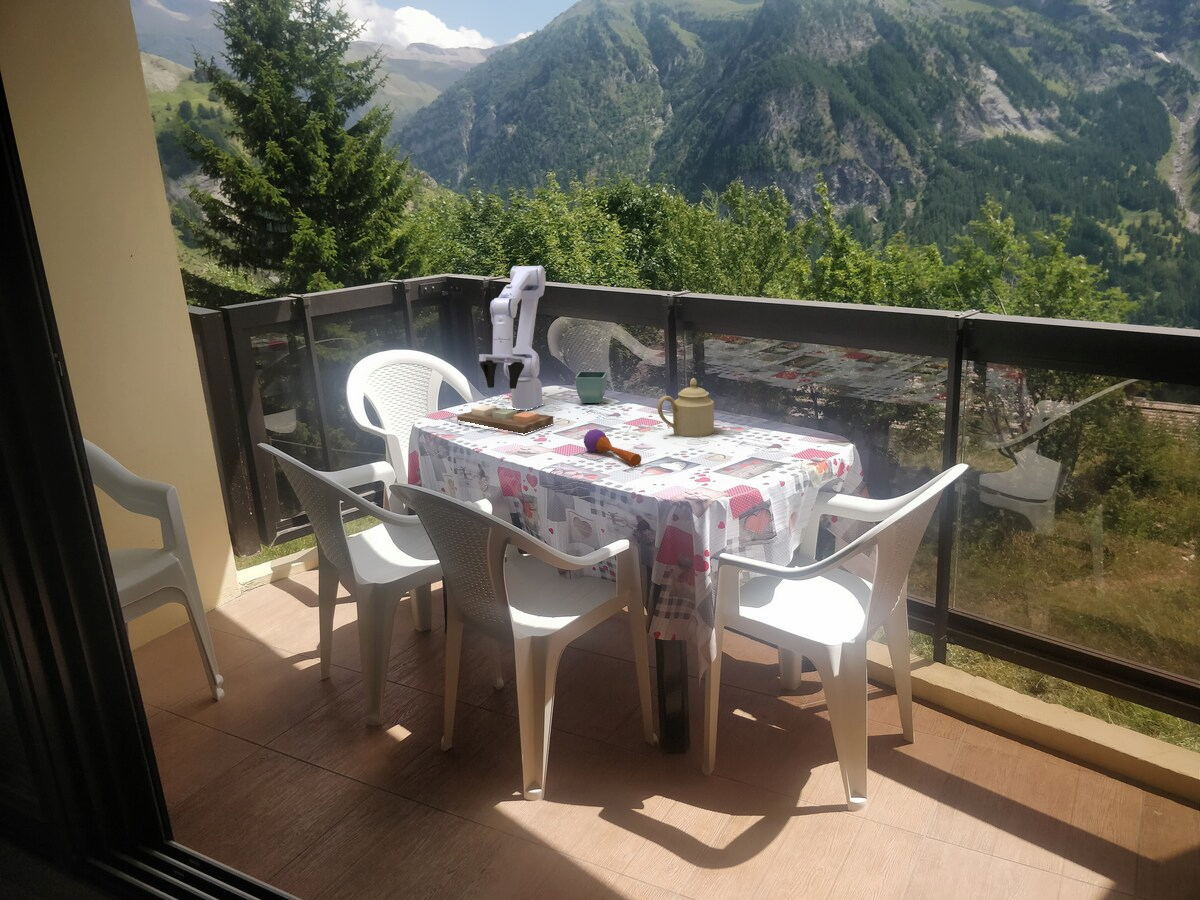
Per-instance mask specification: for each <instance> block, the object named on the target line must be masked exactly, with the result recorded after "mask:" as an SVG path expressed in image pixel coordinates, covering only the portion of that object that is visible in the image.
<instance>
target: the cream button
mask: <svg viewBox="0 0 1200 900" xmlns="http://www.w3.org/2000/svg"><path fill="white" fill-rule="evenodd" d="M496 408H497V407H496V406H493V405H491V406H490V405H486V404H485V405H479V406H476V407H473V408H471V410H470V412H472V414H473V415H479V416H487V415H490V414H492V412H494V411H496Z"/></svg>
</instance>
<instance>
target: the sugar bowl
mask: <svg viewBox="0 0 1200 900" xmlns="http://www.w3.org/2000/svg"><path fill="white" fill-rule="evenodd" d="M697 384H698V382H697V379H696V378H695V377H692V378H691V379H690V382H689V385H690V386H688V387H685V388H683V389H682V390H681V391H679V392H678V393H677V395H678V397H677V399H674V398H673V397H672V396H670V395H664V396H662V397H660V398H659V400H658V402H657V407H656V408H657V413H658V415H659V417H660V419H661V420H662V421H663V422H664V423H665V424H666V425H668V426H670V427H671V428H672V430H673V433H674V434H675V435H677V436H681V437H688V438H690V437H691V438H697V437H698V438H699V437H700V436H701V437H705V436H706V435H707V436H710V435H712V434H713V433H714V431H715V426H714V425H715V403H714V402H715V401H714V400H712V399H711V398H710V397H709V396H708V395H710V393H709V391H707V390H705V389H704V388H702V387H698V386H697ZM667 400H669V401H670V404H671V408H672V422H671V421H669V420H668V419H667V418H666V417H665V415H664V412H663V404H664V402H665V401H667ZM707 436H706V437H707Z"/></svg>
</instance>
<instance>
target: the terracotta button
mask: <svg viewBox="0 0 1200 900" xmlns="http://www.w3.org/2000/svg"><path fill="white" fill-rule="evenodd" d="M538 414H539V413H537V412H532V411H531V412H530V411H522V413H519V414H516V415H513V418H514V421H517V422H523V423H530V422H532V421H535V420H538V419H539V415H538Z"/></svg>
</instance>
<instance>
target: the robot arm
mask: <svg viewBox="0 0 1200 900" xmlns="http://www.w3.org/2000/svg"><path fill="white" fill-rule="evenodd" d="M509 274H510V275H509V279H510V284H506V285H505V286H504V287H503V289H502V291H501V293H500V294H499V296H498V297H495V298H494V299H492V300H491V301H490V307H489V312H490V317H491V319H490V321H491V324H492V354H486V353H481V354H480V353H479V354H478V355H479V357H478V361H479V365H480V368H481V369H482V372H483V374H484V377H485V381H486V385H487V388H488V389H490V388H491V389H492V388H495V376H496V369H497V366H498V363H502V364H503V373H504V375H505V377H506V378H507V379H508V381H509V389H510V390H511V405H512V407H513V408H516V409H520V410H526V409H527V410H529V409H531V408H534V407H537V406H540V405H542V404H545V405H546V403H544V402H543V400H544V399H543V387H542V385H543V384H542V382H541V380H540V379H539V378H538V376H539V374H540V356H539V354H538V352H537V351H535V350H534V349H533V340H534V335H535V334H534V332H535V326H536V316H537V309H538V303H539V298H541V297H543V296H544V293H545V287H546V281H547V279H546V270H545V268H544V266H543V265H530V266H529V265H526V266H525V265H524V266H523V265H520V266H519V265H513V266H512V267H511V269H510V272H509ZM520 301H521V304H520V313H519V319H518V328H517V334H516V335H517V336H516V340H515V341H516V342H515V346H513V344H514V319H515V318H516V317H517V311H518V308H519V307H518V304H519V303H520ZM540 407H541V406H540ZM537 408H538V407H537ZM534 409H535V408H534ZM531 410H532V409H531ZM529 411H530V410H529Z"/></svg>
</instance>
